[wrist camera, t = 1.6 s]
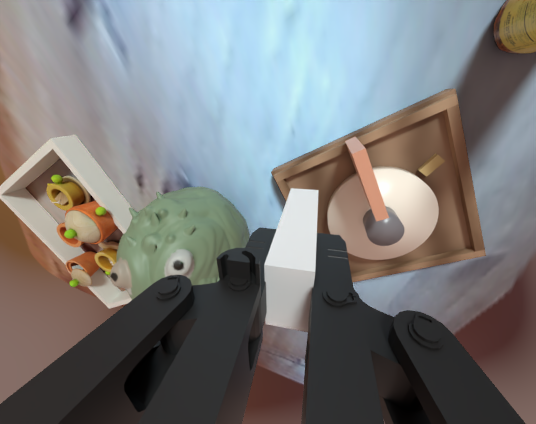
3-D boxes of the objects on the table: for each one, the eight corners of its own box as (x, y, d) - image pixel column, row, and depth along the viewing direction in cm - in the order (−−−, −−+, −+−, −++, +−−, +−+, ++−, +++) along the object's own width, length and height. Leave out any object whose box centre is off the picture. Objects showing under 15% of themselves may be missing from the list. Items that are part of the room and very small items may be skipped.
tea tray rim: (75, 134, 38) (50, 138, 34) (185, 277, 48) (175, 290, 45) (18, 185, 47) (-7, 192, 43) (121, 295, 57) (109, 308, 54)
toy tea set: (57, 165, 42) (-10, 182, 33) (129, 189, 40) (79, 213, 32) (83, 263, 55) (39, 293, 46) (138, 284, 53) (104, 319, 45)
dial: (441, 237, 30) (477, 279, 23) (345, 260, 35) (350, 300, 28) (408, 110, 24) (443, 115, 17) (300, 159, 29) (292, 178, 22)
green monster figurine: (187, 252, 45) (102, 348, 28) (172, 161, 36) (33, 218, 19) (261, 266, 42) (218, 382, 25) (265, 171, 33) (202, 249, 16)
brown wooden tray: (445, 89, 24) (460, 88, 22) (476, 244, 31) (490, 257, 29) (273, 168, 33) (269, 174, 30) (327, 276, 40) (328, 288, 37)
